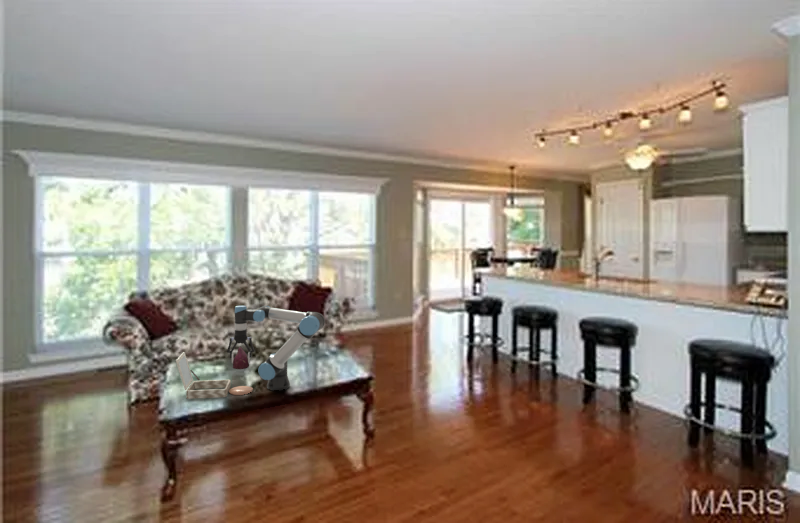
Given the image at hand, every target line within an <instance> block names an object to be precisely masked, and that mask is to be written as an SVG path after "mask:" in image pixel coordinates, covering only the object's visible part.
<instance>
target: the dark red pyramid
mask: <svg viewBox="0 0 800 523" xmlns="http://www.w3.org/2000/svg"><path fill="white" fill-rule="evenodd" d="M249 367H250V363H248V354H247V353H246V352H245V351H244V349H243V347H242V346H239V347H238V349H237V352H236V354H235V357H234V361H233V363H232V368H233V369H234V370H244V369H248V368H249Z"/></svg>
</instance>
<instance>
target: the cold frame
mask: <svg viewBox="0 0 800 523" xmlns="http://www.w3.org/2000/svg"><path fill="white" fill-rule="evenodd" d="M190 371H191V374H192V376H194V378H196V379H197V380H193V381H192V382H191V384H190V385H189V387H188V388H187V390H185V391H186V392H185V394H186V396H185V397H186V399H188V400H191V399H193V400H194V399H208V398H209V399H213V398H214V399H215V398H227V396H228V394H229V390H230V389H231V388H232V385H231V384H232V383H231V379H215V380H213V379H212V380H210V379H209V380H208V379H207V380H200V378H199V377H198V376H197V374H196V373H195V372H194V371H193V370H192V369H190Z"/></svg>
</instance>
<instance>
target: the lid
mask: <svg viewBox="0 0 800 523" xmlns="http://www.w3.org/2000/svg"><path fill="white" fill-rule="evenodd" d="M175 362H176V366H177V369H178V372H179V375H180V379H181V382H182V385H183V388H184V391H187V389H188V388H189V387H190V385H191V384H192V382H193V381H194V378H193V374H192V372H191V371H190V370H191V369H190V365H189V363H188V362H189V361H188V358H187V356H186V352H185V351H183V352H181V354H180V355H179V356H178V357H177V358H176V359H175Z"/></svg>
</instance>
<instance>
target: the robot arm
mask: <svg viewBox="0 0 800 523" xmlns="http://www.w3.org/2000/svg"><path fill="white" fill-rule="evenodd" d="M265 319H267V320H268V319H269V320H274V321H275V320H277V321H284V322H289V323H296V324H298V325H297V326H296V330H295V332H294V333H293V334H291V336H290V337H289V338H288V340H286V342H284V344H283V345H282V346H281V347H280V348H279V349H278V350H277V351H276V352H274V353H271V354H269V356H268V357H267V358H266V360H265V361H264V362H262V363H261V364H260V365H259V367H258V368H257V370H258V375H259V377H260V378H261V379H262V380H265V381H267V384H266V388H267V389H268V390H269V389H271V390H270V391H274V390H279V391H284V390H283V389H285V390H288V389H289V388H290V387H291V382H290V379H289V377H288V360H289V359H290V358H291V357H292V356H293V355H294V353H296V351H298V349H300V347H301V346H302V345H303V344H304V343H305V342H306V341H307V340H311V339H312V338H313V337H314V335H316V334H317V333H318V332H319V331H320V330H322V329H323V328H324V327H325V324H326V319H325V316H324V315H323V314H322V313H320V312H317V311H307V312H304V311H303V312H302V311H297V310H291V309H290V310H289V309H284V308H283V309H282V308H276V307H271V306H269V305H263V306H260V307H258V308H255V309H248V308H247V305H236V306H235V307H234V337H233V336H230V338H229V344H228V347H227V350H226V353H228V354H229V358H230V359H231V364H233V361H234V358H235V357H234V352H233V351H234V350H235V348H236V346H237V344H244V346H245V348H246V349H247V351H248V353H247V357H248V363H249V364H250V361H251V358H252V356H253V355H252V354H253V353H254V352H255V348H254V345H253V340H252V336H248V335H247V334H248V333H247V328H248V325H247V322H257V323H259V322H263V321H264V320H265ZM247 340H248V342H247ZM233 341H235V342H234V344H233V346H232V343H233ZM248 343H249V344H248ZM249 345H250V346H249ZM231 347H232V348H231ZM288 387H289V388H288ZM287 388H288V389H287Z"/></svg>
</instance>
